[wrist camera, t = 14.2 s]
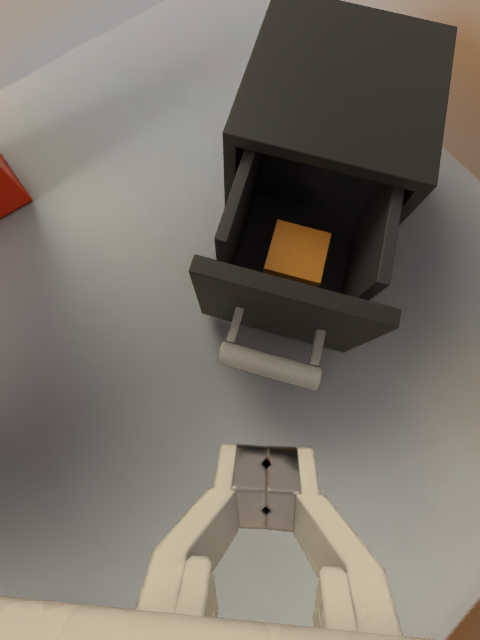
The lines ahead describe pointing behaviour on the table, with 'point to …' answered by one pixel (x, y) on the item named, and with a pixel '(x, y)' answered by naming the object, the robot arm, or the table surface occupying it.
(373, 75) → the dark grey open box
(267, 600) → the table surface
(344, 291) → the drawer
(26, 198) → the file binder
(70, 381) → the table surface
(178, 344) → the table surface
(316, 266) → the block
